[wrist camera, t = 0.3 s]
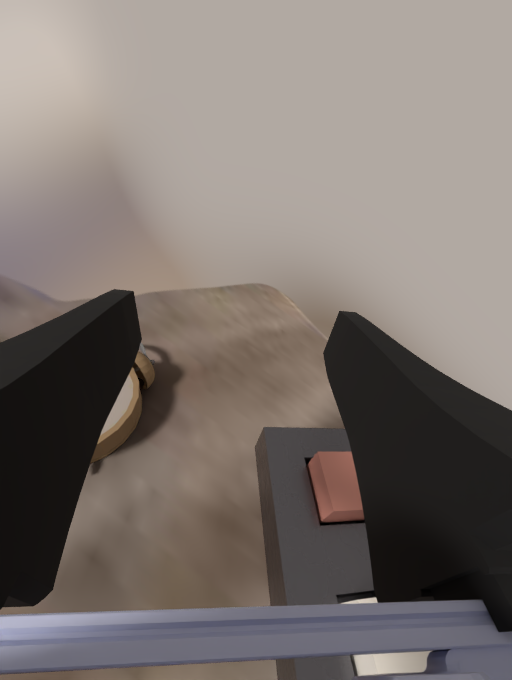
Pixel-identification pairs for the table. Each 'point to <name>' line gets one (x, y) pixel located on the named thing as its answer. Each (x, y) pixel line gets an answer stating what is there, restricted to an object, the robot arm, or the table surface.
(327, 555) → the grey flat block
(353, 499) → the red key
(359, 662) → the cream key
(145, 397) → the table surface
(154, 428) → the table surface
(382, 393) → the robot arm
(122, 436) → the alarm clock
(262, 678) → the table surface
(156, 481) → the table surface
